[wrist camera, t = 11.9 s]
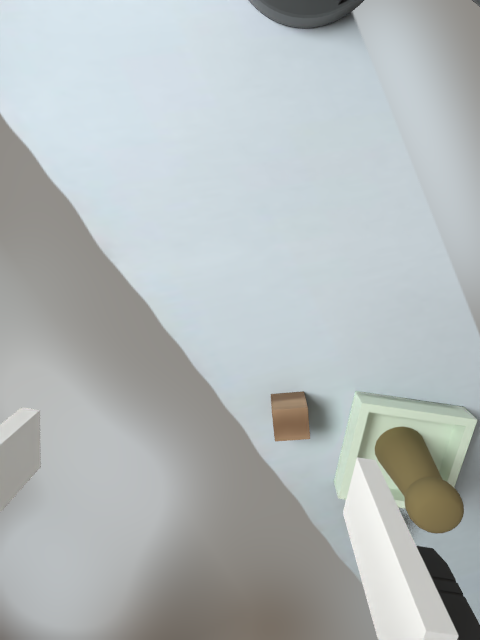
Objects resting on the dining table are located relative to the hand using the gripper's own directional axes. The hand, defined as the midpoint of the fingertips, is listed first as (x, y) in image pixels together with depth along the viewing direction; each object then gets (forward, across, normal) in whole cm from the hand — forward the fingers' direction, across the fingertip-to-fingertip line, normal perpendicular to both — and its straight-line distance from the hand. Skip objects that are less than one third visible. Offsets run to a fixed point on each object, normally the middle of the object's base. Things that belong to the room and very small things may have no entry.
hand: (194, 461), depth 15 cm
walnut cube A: (+29, +8, -12) cm, 32 cm away
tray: (+29, +22, -15) cm, 39 cm away
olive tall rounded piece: (+28, +22, -15) cm, 38 cm away
